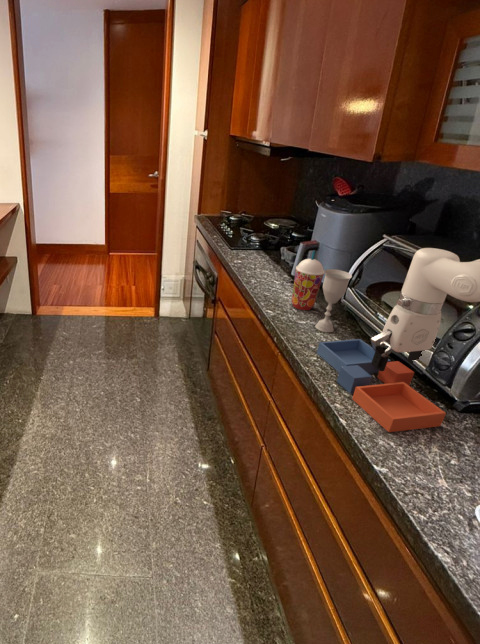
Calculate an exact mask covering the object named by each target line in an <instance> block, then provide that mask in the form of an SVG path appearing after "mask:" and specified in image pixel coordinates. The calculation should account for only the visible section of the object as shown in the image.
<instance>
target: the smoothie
mask: <svg viewBox="0 0 480 644" xmlns="http://www.w3.org/2000/svg"><path fill="white" fill-rule="evenodd" d="M315 255H316V251H315V250H312V254H311V258H305V259H303V260H301V261H300V262H299V263H298V265H296V266H295V272H294V273H295V274H294V280H293V287H292V288H293V289H292V296H291V303H292V307H293V308H295V309H298V310H301V311H309V310H311V309H312V308H313V307H314V306H315V305H316V304H315V303H316V301H317V297H318V294H319V291H320V287H321V285H322V282H323V278H324V276H325V273H324V271H325V269H324V266H323V264H322V263H321V262H320V261H319V260H317V259H315Z"/></svg>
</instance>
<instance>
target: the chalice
mask: <svg viewBox="0 0 480 644" xmlns="http://www.w3.org/2000/svg"><path fill="white" fill-rule="evenodd" d="M352 277H353V275H352V274H350V273H349V272H347V271H344V270H341V269H335V268H334V269H332V268H329V269H324V279H323V283H322V291H323V295H324V296H323V297H324V300H325V302H326V303H327V306H326V307H325V308H326V312H324V315H325V316H324V318H322V319H320V320H318V322H316V324H315V325H314V327H315V329H316V330H318V331H320V332H323V333H333V332H335V331H334V330H335V329H334V326H333V322H332V321H331V320H330V319H329V318H330V316H332V314H331V311H332V310H333V308H332V307H333V305H334V304H337V303H338V302H339V301H340V300H341V299H342V298H343V296H344V295H345V293H346V292H347V289H348V285H349V281H350V280H351V279H352Z"/></svg>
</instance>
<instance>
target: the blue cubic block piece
mask: <svg viewBox="0 0 480 644" xmlns="http://www.w3.org/2000/svg"><path fill="white" fill-rule="evenodd" d="M372 379H373V376H372V375H371V374H368V373H367V372H366V371H365V370H363V369H362V368H361V367H360V366H358V365H352V366H342V367H341V368H340V372H338V376H337V379H336V383H337V384H338V385H340V386H341V387H342V388H343V389H344V390H345V391H346V392H347V393H349V394H350V395H351V394H354V391H355V388H356V387H359V386H369V385H371V382H372Z"/></svg>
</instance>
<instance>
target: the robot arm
mask: <svg viewBox="0 0 480 644" xmlns="http://www.w3.org/2000/svg"><path fill="white" fill-rule="evenodd" d="M447 295H449V296H451V297H452V298H455V299H457V300H459V301H462V302H467V303H479V302H480V258H479V259H475V260H472V261H461V260H460V257H459V255H458V254H456V253H454V252H452V251H449V250H446V249H441V248H434V247H422V248H420V249H418V250H416V252H414V254H413V257H412V260H411V262H410V265H409V268H408V271H407V273H406V277H405V279H404V282H403V285H402V288H401V291H400V293H399V297H398V299H397V301H396V305H394V307H393V308H392V310H391V312H390V313H389V315H388V317H387V320H386V321H385V323H384V324H385V325H384V327H383V328H382V331H381V333H378V334H377V335H374V336H372V337H371V338H370V346H371V347H372V348H373V349H374V351H375V354H374V357H373V359H372V362H371V364H372V365H373V366H375V367H376V368H377V369H378V370H380V371H384V370H385V367H386V364H387V362H388V359H389V357H388V356H389V355H390V354H392V352H395V353H409V354H408V356H407V359H406V361H407V362H408V363H410V364H411V365H413V366H414V367H415V368H417V367H416V366H415V365H414V364H413V361H412V360H416V359H419V357H420V356H422V354H421V352H422V351H425V350H431V349H432V348H433V347H434V346H433V344H434V342H435V339H436V336H437V333H438V334H439V331H440V327H441V321H442V311H441V310H442V307H443V305H444V303H445V301H446V298H447ZM435 343H436V342H435ZM385 346H386V347H387V348H386V349H383V348H384V347H385ZM432 346H433V347H432ZM389 360H390V359H389Z"/></svg>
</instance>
